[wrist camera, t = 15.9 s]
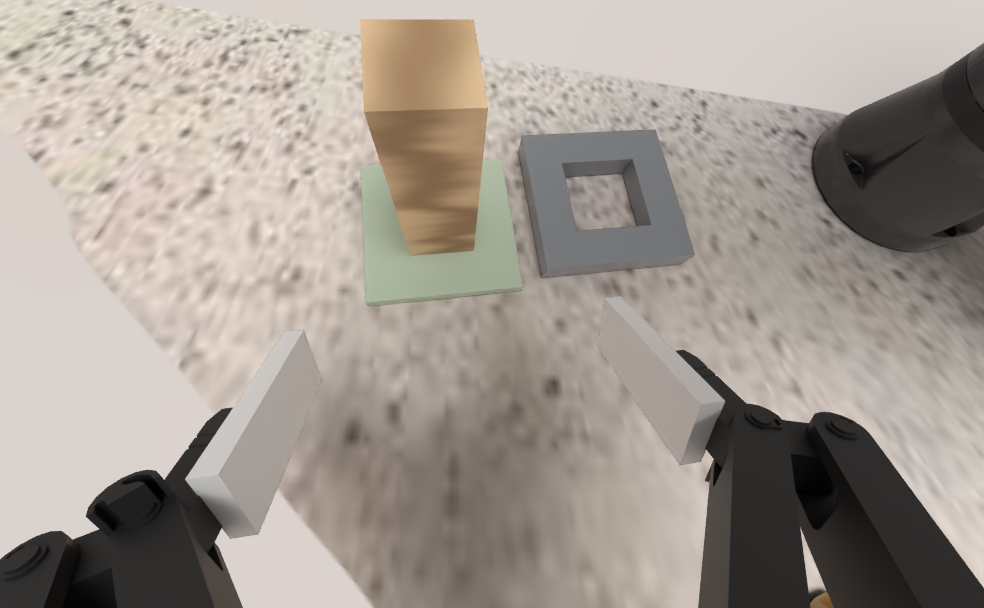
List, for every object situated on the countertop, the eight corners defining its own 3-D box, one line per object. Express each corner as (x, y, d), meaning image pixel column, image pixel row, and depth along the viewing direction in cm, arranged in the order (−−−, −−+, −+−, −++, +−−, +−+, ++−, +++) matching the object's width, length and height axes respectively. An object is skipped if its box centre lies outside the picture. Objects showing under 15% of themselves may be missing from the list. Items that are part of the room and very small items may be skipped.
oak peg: (467, 196, 29) (473, 19, 16) (474, 250, 28) (487, 107, 15) (406, 200, 29) (360, 19, 15) (410, 256, 27) (364, 111, 14)
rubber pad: (500, 165, 32) (501, 158, 31) (520, 290, 28) (522, 286, 27) (363, 173, 30) (360, 165, 29) (369, 306, 27) (366, 302, 26)
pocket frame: (644, 145, 34) (655, 129, 32) (680, 264, 30) (695, 254, 28) (518, 151, 32) (522, 135, 30) (541, 277, 29) (547, 269, 27)
